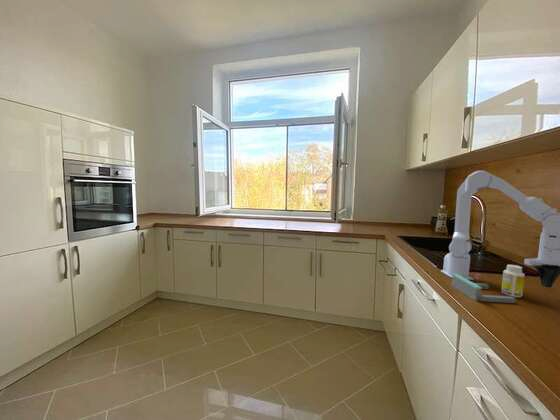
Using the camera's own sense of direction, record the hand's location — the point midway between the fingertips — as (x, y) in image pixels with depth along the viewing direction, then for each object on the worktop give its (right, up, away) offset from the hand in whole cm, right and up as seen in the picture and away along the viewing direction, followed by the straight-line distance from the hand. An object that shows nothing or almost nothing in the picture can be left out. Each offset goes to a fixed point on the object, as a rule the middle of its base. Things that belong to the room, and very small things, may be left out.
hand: (546, 286), depth 88 cm
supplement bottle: (-11, -3, +1) cm, 12 cm away
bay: (-22, -3, +1) cm, 22 cm away
